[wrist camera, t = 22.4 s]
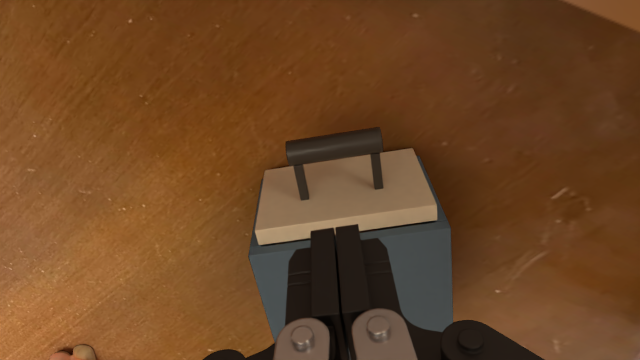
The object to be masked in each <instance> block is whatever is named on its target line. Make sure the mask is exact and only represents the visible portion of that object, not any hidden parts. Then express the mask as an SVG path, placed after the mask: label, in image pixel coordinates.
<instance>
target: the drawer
mask: <svg viewBox="0 0 640 360" xmlns="http://www.w3.org/2000/svg"><path fill="white" fill-rule="evenodd" d="M380 152H383V141H382V135H381V130H380V127H375V128H369V129H362V130H356V131H349V132H343V133H336V134H330V135H324V136H317V137H311V138H304V139H298V140H291V141H286V155H287V160H288V163H289V165H290V166H291V167H284V168H277V169H271V170H265V173H264V179H263V185H262V191H261V197H260V203H259V209H258V215H257V220H256V226H255V234H256V237H257V241H258V244H259V245H265V244H272V243H276V245H278V244H285V243H292V242H299V241H306V240H310V232H311V231H313V230H320V229H327V228H334V231H335V235H336V230H335V227H340V226H347V225H354V224H358V226H359V231H364V230H371V229H378V230H385V229H392V228H399V227H406V226H413V225H420V224H422V223H421V222H428V221H435V220H437V204H436V202H435V199H434V197H433V195H432V192H431V190H430V188H429V185H428V183H427V181H426V178H425V176H424V173H423V171H422V169H421V166H420V164H419V162H418V159H417V157H416V155H415V152H414V150H413V148H409V149H403V150H396V151H390V152H383V153H380ZM366 154H370V155H366ZM360 155H363V156H360ZM353 156H357V157H353ZM347 157H350V158H347ZM340 158H343V159H340ZM333 159H337V160H333ZM327 160H330V161H327ZM320 161H324V162H320ZM314 162H317V163H314ZM307 163H310V164H307ZM303 164H304V165H303Z"/></svg>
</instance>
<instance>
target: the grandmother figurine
mask: <svg viewBox="0 0 640 360" xmlns="http://www.w3.org/2000/svg"><path fill="white" fill-rule="evenodd" d="M49 360H96V358H95V354H94V351H93V349H92V348H91V347H90V346H87V345H78V346H76V347H74V349H73V355H72V356H71V355H70V354H69V353H68V352H65V351H59V352H56V353H54V354H52V355H51V357H50V359H49Z"/></svg>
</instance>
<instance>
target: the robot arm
mask: <svg viewBox="0 0 640 360" xmlns="http://www.w3.org/2000/svg"><path fill="white" fill-rule="evenodd" d="M335 230H336V237H335V231H334V228H327V229H320V230H313V231H311V232H310V247H309V248H302V249H296V250H295V252H294V253H293V255H292V257H291V258H290V260H289V265H288V282H287V285H288V287H287V299H286V316H285V326H284V327H283V328H282V329H281V331H280V332H279V334H278V336H277V339H276V342H275V343H274V344H273V345H272V346H270V347H269V348H267V349H265V350H263V351H261V352H259V353H256V354H254V355H252V356H249V357H247V358H245V357H244V356H243V354H241V353H240V352H238V351H236V350H230V349H226V350H220V351H217V352H214V353H212V354H210V355H208V356H207V357H205V358H204V359H203V360H350V357H351V360H544V359H542V358H541V357H539V356H537V355H536V354H534V353H532V352H531V351H529V350H527V349H526V348H524V347H522V346H521V345H519V344H517V343H516V342H514V341H512V340H511V339H509V338H507V337H506V336H504V335H503V334H501V333H499V332H498V331H496V330H494V329H493V328H491V327H489V326H487V325H486V324H484V323H481V322H478V321H473V320H462V321H457V322H454V323H452V324H450V325H449V326H447V327H446V328H445V329H444V331H443V332H439V331H432V330H426V329H422V328H419V327H417V326H415V325H413V324H412V323H410V322H409V321H408V320H407V319H406V318H405V317H404V315H403V313H402V311H401V308H400V304H399V299H398V295H397V291H396V286H395V282H394V277H393V273H392V268H391V264H390V259H389V255H388V251H387V247H386V246H385V245H384V244H383V243H382V242H381V241H380V240H379V239H378V238H372V239H365V240H361V239H360V233H359V226H358V224H354V225H347V226H340V227H335ZM349 351H350V354H349Z"/></svg>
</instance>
